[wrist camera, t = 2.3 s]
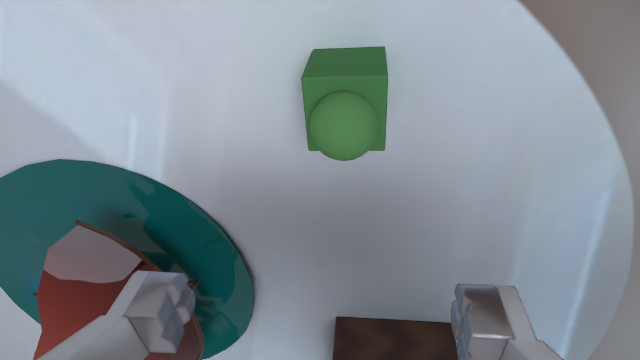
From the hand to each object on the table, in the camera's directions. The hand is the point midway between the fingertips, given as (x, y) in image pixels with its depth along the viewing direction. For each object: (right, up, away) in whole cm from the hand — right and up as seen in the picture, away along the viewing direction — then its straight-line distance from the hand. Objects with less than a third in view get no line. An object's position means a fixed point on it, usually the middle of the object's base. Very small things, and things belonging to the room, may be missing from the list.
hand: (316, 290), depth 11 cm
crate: (+8, -15, +31) cm, 35 cm away
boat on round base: (-20, -6, +28) cm, 35 cm away
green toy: (+2, +10, +13) cm, 17 cm away
